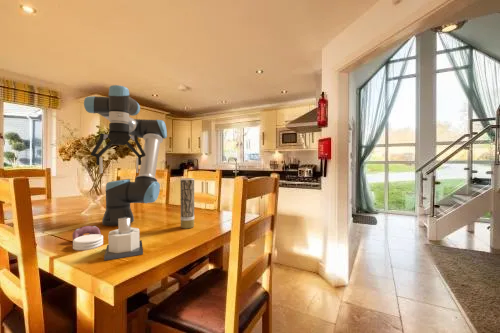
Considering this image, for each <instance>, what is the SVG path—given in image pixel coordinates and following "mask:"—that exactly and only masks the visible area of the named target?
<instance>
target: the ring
mask: <svg viewBox="0 0 500 333" xmlns="http://www.w3.org/2000/svg"><path fill="white" fill-rule="evenodd" d="M107 235H108V238H107V239H108V245H109V252H114V253H122V252H128V251H132V250H134V249H136V248H139V247H140V240H141V239H140V228H139V227H132V226H131V232H130V233H127V234H118V229H117V228H116V229H114V230H111V231H109V232H108V234H107Z"/></svg>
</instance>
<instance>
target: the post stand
mask: <svg viewBox="0 0 500 333" xmlns="http://www.w3.org/2000/svg"><path fill="white" fill-rule="evenodd" d="M117 226H118V234H127V233H130V232H131V227H132V226H131V223H130V217H122V218H119V219H118V225H117ZM139 240H140V247H139V248H136V249H134V250H132V251H128V252H122V253H114V252H109V244H107V245H106V248H105V253H104V255H103V256H104V258H103V259H104V261H110V260H116V259H122V258H129V257H135V256H140V255H141V256H142V255H144V247H143V240H142V239H139Z"/></svg>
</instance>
